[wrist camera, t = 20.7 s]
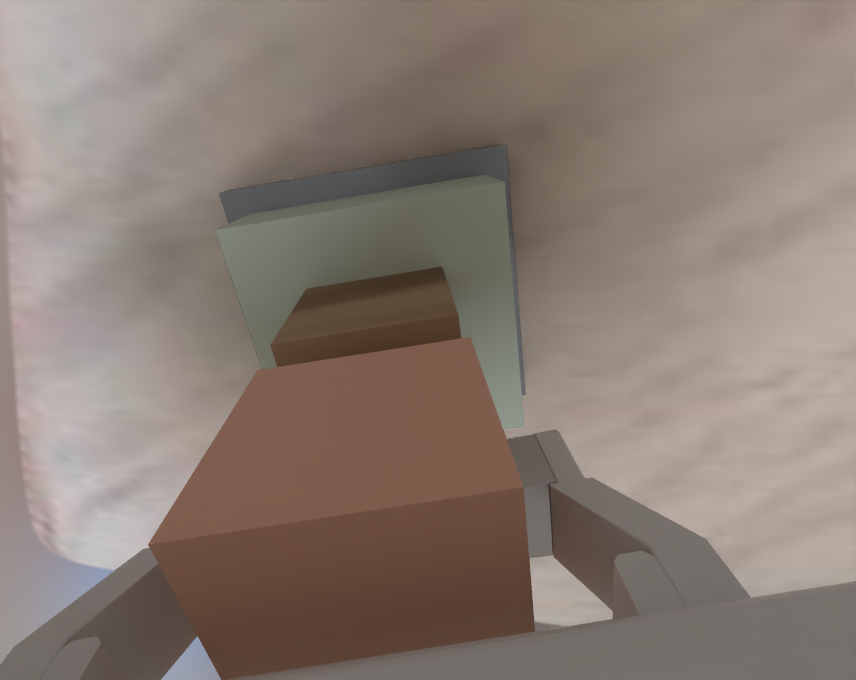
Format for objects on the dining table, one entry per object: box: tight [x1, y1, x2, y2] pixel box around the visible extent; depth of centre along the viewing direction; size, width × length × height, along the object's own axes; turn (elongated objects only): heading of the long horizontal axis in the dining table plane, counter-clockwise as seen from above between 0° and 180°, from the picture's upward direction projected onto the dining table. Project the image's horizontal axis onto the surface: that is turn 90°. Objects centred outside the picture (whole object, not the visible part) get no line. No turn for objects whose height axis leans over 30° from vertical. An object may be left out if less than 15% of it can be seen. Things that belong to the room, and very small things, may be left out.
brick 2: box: [148, 337, 535, 680], centre depth 9 cm, size 5×5×5 cm
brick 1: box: [270, 267, 461, 367], centre depth 15 cm, size 5×5×5 cm
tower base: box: [215, 145, 525, 429], centre depth 20 cm, size 12×12×5 cm
